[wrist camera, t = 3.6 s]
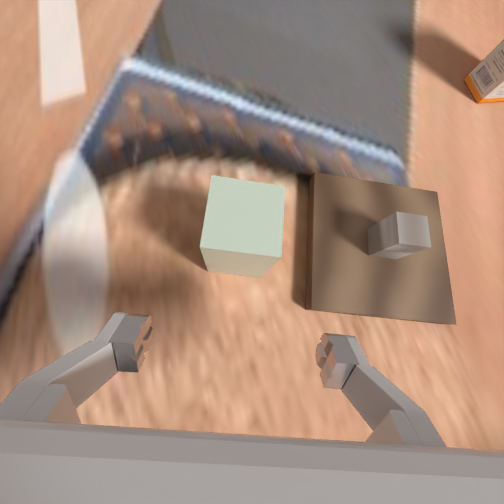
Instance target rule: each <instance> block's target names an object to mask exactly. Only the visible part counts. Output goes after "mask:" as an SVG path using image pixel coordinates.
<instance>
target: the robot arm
mask: <svg viewBox="0 0 504 504" xmlns="http://www.w3.org/2000/svg"><path fill="white" fill-rule="evenodd" d="M151 323H152V316H149V315H141V314H134V313H124V312H116V313H114V314H113V315H112V317H111V318H110V319H109V321H108V322H107V324H106V325H105V326H104V328H103V329H102V330H101V332H100V333H99V335H98V336H97V337H96V339H95V340H94V341H89V342H87V343H85V344H84V345H82V346H80V347H78V348H77V349H75V350H73V351H72V352H70V353H68V354H66V355H65V356H63V357H61V358H59V359H58V360H56V361H54V362H52V363H51V364H49V365H47V366H46V367H44V368H42V369H40V370H39V371H37V372H35V373H33V374H32V375H30V376H28V377H26V378H25V379H23V380H22V381H21V382H20V383H19V384H18V385H17V386H16V387H15V389H14V390H13V391H12V392H11V393H10V394H9V395H8V396H7V397H6V399H5V400H4V401H3V402H2V403H1V404H0V504H504V451H498V450H483V449H467V448H451V447H446V445H445V444H444V442H443V440H442V439H441V437H440V435H439V434H438V432H437V430H436V429H435V427H434V426H433V424H432V422H431V421H430V419H429V417H428V416H427V414H426V412H425V411H424V410H423V409H422V408H420V407H419V406H418V405H417V404H416V403H415V402H414V401H412V400H411V399H410V398H409V397H408V396H407V395H406V394H404V393H403V392H402V391H401V390H400V389H399V388H398V387H396V386H395V385H394V384H393V383H392V382H391V381H390V380H388V379H387V378H386V377H385V376H384V375H383V374H381V373H380V372H379V371H378V370H377V369H376V368H375V367H372V366H370V364H369V362H368V360H367V358H366V356H365V354H364V352H363V350H362V348H361V346H360V344H359V342H358V340H357V338H356V337H355V336H349V335H339V334H328V333H324V334H322V336H321V338H320V339H321V343H319V344H318V345H317V348H316V362H317V365H318V366H319V367H320V368H321V369H322V370H321V372H320V376H321V379H322V383H323V386H324V388H332V389H341V391H342V392H343V393H344V394H345V396H346V397H347V398H348V400H349V401H350V402H351V403H352V405H353V406H354V407H355V408H356V410H357V411H358V412H359V413H360V415H361V416H362V417H363V419H364V420H365V421H366V422H367V424H368V425H369V426H370V427H371V429H372V430H373V432H372V433H371V434H370V436H369V437H368V438H367V440H366V442H356V441H340V440H324V439H309V438H293V437H278V436H262V435H247V434H231V433H215V432H199V431H183V430H167V429H152V428H136V427H120V426H104V425H88V424H81V422H80V419H79V416H78V414H77V412H76V408H77V407H78V406H79V405H81V404H82V403H83V402H84V401H85V400H86V399H87V398H89V397H90V396H91V395H92V394H93V393H94V392H96V391H97V390H98V389H99V388H100V387H101V386H102V385H104V384H105V383H106V382H107V381H108V380H109V379H111V378H112V377H113V376H114V375H115V374H116V373H117V371H124V372H139V369H140V367H141V365H142V363H143V361H144V359H145V358H144V352H146V351H147V350H149V347H150V345H151V342H152V338H153V328H152V327H151V326H150V325H151Z"/></svg>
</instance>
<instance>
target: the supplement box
mask: <svg viewBox="0 0 504 504" xmlns="http://www.w3.org/2000/svg"><path fill="white" fill-rule="evenodd" d="M464 80H465V82H466V84H467V86H468V88H469V90H470V91H471V93H472V95H473V97H474V99H475V100H476V102H477V103H486V102H498V101H504V40H503V41H502V42H501V43H500V44H499V45H498V46H497V47H496V48H495V49H494V50H493V51H492V52H491V53H490V54H489V55H488V56H487V57H486V58H485V59H483V60H482V61H481V62H480V63H479V64H478V65H477V66H476V67H475V68H474V69H473V70H472V71H471V73H470V74H468V75H467V76H466V77H465V79H464Z"/></svg>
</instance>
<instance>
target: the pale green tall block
mask: <svg viewBox="0 0 504 504" xmlns="http://www.w3.org/2000/svg"><path fill="white" fill-rule="evenodd" d="M285 188H286V186H279V185H273V184H266V183H260V182H253V181H247V180H240V179H234V178H227V177H221V176H215V175H212V176H211V182H210V188H209V194H208V200H207V206H206V212H205V218H204V224H203V230H202V236H201V242H200V250H201V253H202V256H203V259H204V261H205V264H206V267H207V270H208V272H215V273H224V274H232V275H241V276H249V277H258V278H261V277H262V276H263V275H264V274H265V273H266V272H267V271H268V270H269V269H270V268H271V267H272V266H273V265H274V264H275V263H276V262H277V261H278V260H279V259H280V258H281V252H282V236H283V220H284V204H285Z"/></svg>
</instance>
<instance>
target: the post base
mask: <svg viewBox="0 0 504 504" xmlns="http://www.w3.org/2000/svg"><path fill="white" fill-rule="evenodd" d="M306 310H314V311H324V312H333V313H343V314H352V315H362V316H371V317H380V318H390V319H399V320H409V321H418V322H428V323H437V324H455V325H456V318H455V312H454V305H453V298H452V291H451V284H450V277H449V271H448V264H447V257H446V250H445V243H444V236H443V230H442V223H441V216H440V209H439V202H438V195H437V192H434V191H428V190H422V189H416V188H409V187H403V186H397V185H391V184H385V183H379V182H373V181H366V180H360V179H354V178H348V177H342V176H336V175H329V174H323V173H317V172H314V174H313V176H312V177H311V179H310V180H309V214H308V247H307V281H306Z"/></svg>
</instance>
